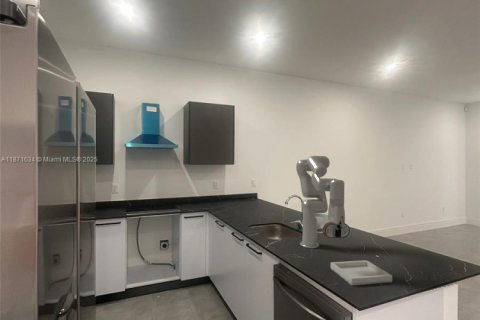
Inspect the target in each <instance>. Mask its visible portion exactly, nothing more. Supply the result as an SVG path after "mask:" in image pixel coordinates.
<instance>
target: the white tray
mask: <svg viewBox="0 0 480 320" xmlns="http://www.w3.org/2000/svg"><path fill="white" fill-rule="evenodd" d="M330 269H331V270H332V272H334V273H335V274H336V275H338V276H339V277H341V278H342V279H343V281H346V282H347V283H348V284H349V285H350V286H361V285H373V284H385V283H386V284H387V283H393V275H392V274H391V273H389V272H387V271H385V270H383V268H380V267H379V266H378V265H376V264H374V263H372V262H370V261H368V260H365V259H364V260H349V261H333V262H330Z"/></svg>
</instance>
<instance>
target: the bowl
mask: <svg viewBox="0 0 480 320" xmlns="http://www.w3.org/2000/svg"><path fill="white" fill-rule="evenodd" d="M314 216H315V217H316V219H317V234H318V233H319V234H323V231H319V230H321V229H322V230H323V226H324V225H325V224H326V223H328V222H330V221H328V214H325V213H314Z"/></svg>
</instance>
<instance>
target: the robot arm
mask: <svg viewBox="0 0 480 320" xmlns="http://www.w3.org/2000/svg"><path fill="white" fill-rule="evenodd" d="M330 164H331V162H330V159H329V158H328V157H327V156H325V155H311V156H309V157H308V158H307V159H300V160H298V161H297V163H296V168H295V169H296V173H297V176H298V177H299V183H300V189H301V195H302V197H303V198H306V199H304V200H303V201H302V202H301V211H302V236H301V238H302V240H301V241H300V243H299V244H300V246H302V247H303V248H306V249H318V248H320V243H318V242H317V241H318V229H317V219H316V217H315V216H314V213H318V214H325V213H327V215H328V221H330V222H332V223H334V224H336V229H335V237H341V230H342V227H344V223H345V224H346V214H345V213H346V212H345V211H346V210H345V180H342V179H337V178H322V177H324V176H325V175H326V174H327V172H328V168H329V167H330ZM308 172H312V174H310V173H308ZM326 192H329V204H328V199H327V194H326ZM339 223H340V224H339ZM338 225H339V226H338Z"/></svg>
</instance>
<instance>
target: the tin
mask: <svg viewBox="0 0 480 320" xmlns="http://www.w3.org/2000/svg"><path fill="white" fill-rule="evenodd" d="M339 224H340V223H339ZM338 226H339V225H338ZM335 229H336V224H334V223H332V222H328V223H326V224H325V225H324V226H323V229H322V232H323V233H322V234H323V236H325V237H326V238H329V239H345V238H347V237H348V236H349V235H350V232H351V229H350V226H349V225H348V224H347V223H346V222H345V223H344V227H342V230H341V237H335Z"/></svg>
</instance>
